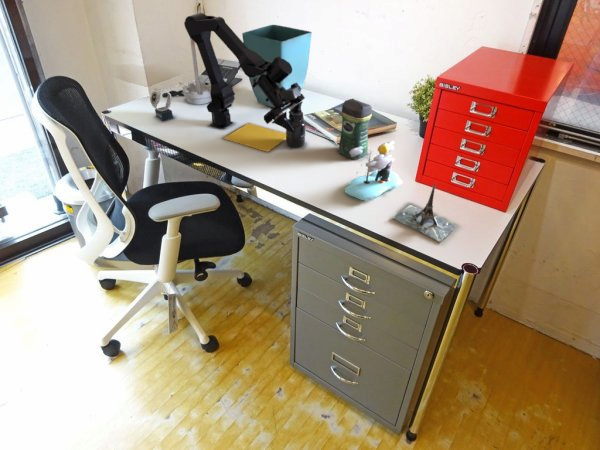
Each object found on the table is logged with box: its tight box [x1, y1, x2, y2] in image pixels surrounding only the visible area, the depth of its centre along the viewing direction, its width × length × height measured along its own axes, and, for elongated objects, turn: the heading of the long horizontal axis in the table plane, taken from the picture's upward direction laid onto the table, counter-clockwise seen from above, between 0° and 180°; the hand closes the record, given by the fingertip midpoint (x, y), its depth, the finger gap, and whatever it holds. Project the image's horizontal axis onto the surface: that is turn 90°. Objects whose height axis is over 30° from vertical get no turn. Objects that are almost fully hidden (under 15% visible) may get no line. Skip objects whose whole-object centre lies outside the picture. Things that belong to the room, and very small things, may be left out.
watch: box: [149, 88, 174, 122], centre depth 170 cm, size 6×8×11 cm
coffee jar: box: [338, 98, 373, 160], centre depth 147 cm, size 10×8×19 cm
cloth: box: [224, 122, 286, 153], centre depth 161 cm, size 19×15×1 cm
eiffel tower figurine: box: [392, 183, 458, 243], centre depth 117 cm, size 15×10×13 cm
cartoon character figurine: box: [344, 140, 403, 201], centre depth 130 cm, size 20×11×15 cm, turn 126°
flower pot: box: [241, 24, 313, 108], centre depth 180 cm, size 20×20×28 cm
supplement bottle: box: [285, 110, 307, 149], centre depth 153 cm, size 7×7×12 cm
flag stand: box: [181, 37, 212, 105], centre depth 180 cm, size 13×13×30 cm
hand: (299, 128), depth 153 cm, fingers closed on supplement bottle, 7 cm apart
